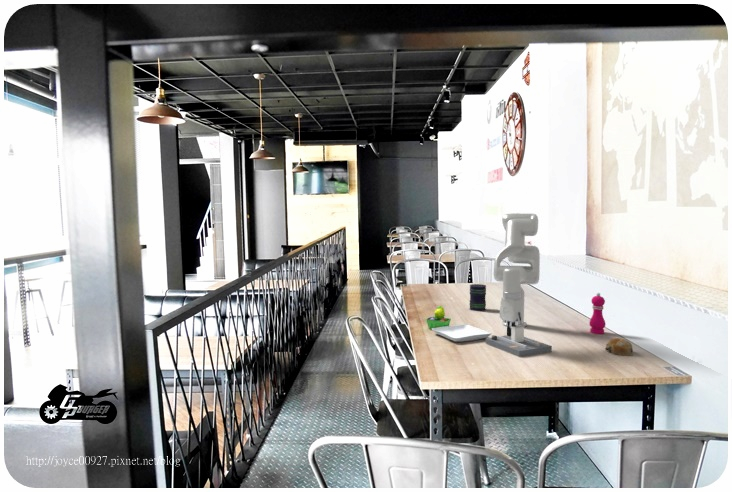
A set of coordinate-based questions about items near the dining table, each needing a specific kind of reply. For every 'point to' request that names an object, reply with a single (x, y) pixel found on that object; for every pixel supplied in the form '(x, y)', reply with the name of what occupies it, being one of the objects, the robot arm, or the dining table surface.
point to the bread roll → (619, 347)
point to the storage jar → (477, 297)
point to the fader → (517, 333)
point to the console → (518, 345)
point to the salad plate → (461, 333)
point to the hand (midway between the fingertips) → (510, 335)
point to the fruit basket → (438, 319)
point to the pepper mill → (597, 315)
